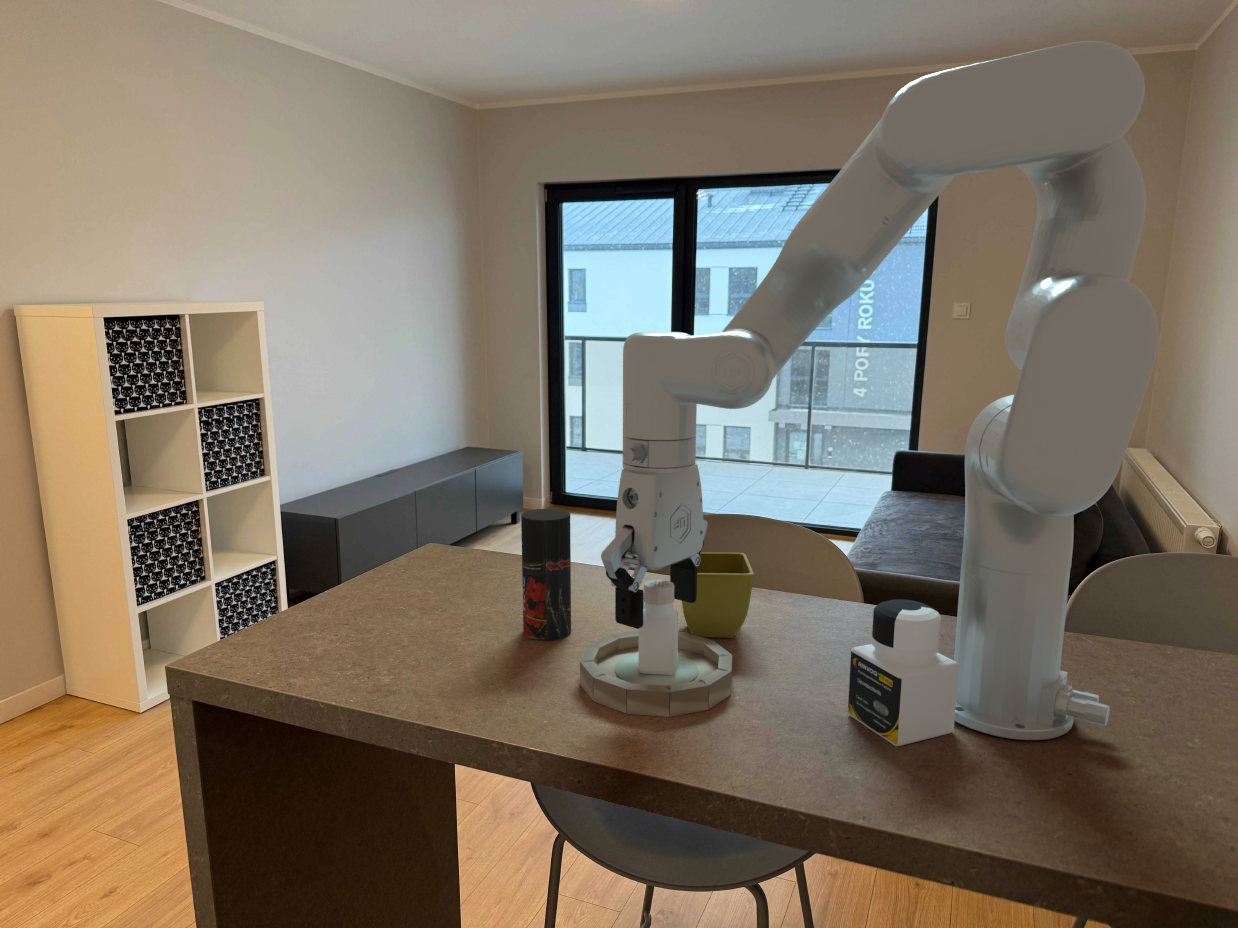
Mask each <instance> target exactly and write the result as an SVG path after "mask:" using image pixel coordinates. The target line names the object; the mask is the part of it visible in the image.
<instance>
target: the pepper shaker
mask: <svg viewBox="0 0 1238 928" xmlns="http://www.w3.org/2000/svg"><path fill="white" fill-rule="evenodd" d="M643 593H644V608H643V627H641V628H639V629H638V631H639V660H638V668H639V670H640V672H641V673H644V674H662V675H672V674H674V673H675V671H676V667H677V660H678V632H679V611H678V610H675V609H674V603H675V599H674V584H673V582H670V580H667V579H666V580H665V579H651V580H647V581H645V582H644V584H643Z"/></svg>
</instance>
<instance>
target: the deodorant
mask: <svg viewBox="0 0 1238 928" xmlns="http://www.w3.org/2000/svg"><path fill="white" fill-rule="evenodd" d="M520 516H521V519H520V521H521V524H520V525H521V527H520V529H521V569H522V570H521V574H522V577H521V578H522V580H521V582H522V626H523V627H522V631H523V632H522V633H523V635H524V636H525V637H526V638H528V639H531V640H536V641H544V642H545V641H547V642H548V641H558V640H561V639H563V638H566V637H568V636H569V635H571V633H572V577H571V575H572V571H571V570H572V568H571V567H572V566H571V565H572V564H571V563H572V562H571V561H572V559H571V556H572V555H571V552H572V551H571V513H570V512H569V511H567V510H564V509H557V508H539V509H538V508H536V509H531V510H527V511H524V512H522V513H521V514H520Z"/></svg>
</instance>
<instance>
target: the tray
mask: <svg viewBox="0 0 1238 928" xmlns="http://www.w3.org/2000/svg"><path fill="white" fill-rule="evenodd" d="M638 660H639V630H633V631H628V632H620V633H613V634H610V635H607V636H606V637H603V638H601V639H599V640H597V641H595V642H592V643H590V644H588V645H587V646H586V648H585V650H584V652H583V654H582V656H581V658H580V660H579V685H580V686H581V688H582V689H583V690H584V691H585V693H586V694H587V695H588V696H589V698H590V699H591V700H592V701H593V702H595V704H596V703H597V704H599V705H603V706H605V707H608V708H610V709H613V710H615V711H618V712H621V713H623V714H627V715H636V716H637V715H638V716H651V717H664V718H665V717H667V718H672V717H677V716H681V715H686V714H693V713H698V712H702V711H708V710H711V708H714V707H715V706H716V705H718V704H720V703H721V702H722V701H724V700H725V699H727V698H728V697H729V696H731V695H732V679H733V678H732V674H733V672H732V671H733V669H732V668H733V654H732V653H730V651H728V650H727V649H725V648H724V647H723V646H722V645H720V644H718V643H717V642H716V641H715V640H713V639H709V638H707V637H699V636H696V635H692V634H691V633H689V632H688V633H687V632H684V631H678V660H677V667H676V671H675V673H674V674H672V675H662V674H644V673H641V672H640V670H639V668H638Z"/></svg>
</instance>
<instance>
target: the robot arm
mask: <svg viewBox="0 0 1238 928" xmlns="http://www.w3.org/2000/svg"><path fill="white" fill-rule="evenodd" d="M1145 92H1146V84H1145V77H1144V73H1143V71H1142V68H1141V67H1140V65H1139V63H1138V61H1137V60H1136V59H1135V57H1134V56H1133V55H1132V54H1131V53H1129V52H1128V51H1127V50H1126V49H1124V48H1123V47H1121V46H1119V45H1117V44H1115V43H1112V42H1106V41H1102V40H1082V41H1081V40H1080V41H1074V42H1068V43H1063V44H1057V45H1054V46H1049V47H1044V48H1041V49H1040V48H1039V49H1035V50H1031V51H1027V52H1023V53H1018V54H1014V55H1010V56H1004V57H1000V58H995V59H992V60H991V59H990V60H987V61H981V62H977V63H971V64H968V65H963V66H958V67H955V68H951V69H949V68H948V69H945V70H941V71H937V72H934V73H931V74H930V73H929V74H927V75H924V76H921V77H919V78H917V79H915V80H913V81H910V82H909V83H907V84H906V85H904V87H902V88H901V89H899V90H898V91H897V93H896V94H895V95H894V96H893V97H892V98H891V100H890V101H889V103H888V104H887V106H886V108H885V110H884V112H883V114H882V117H881V118H880V119H879V121H878V122H877V123H876V125H874V128H873V129H872V130H871V131H870V132H869V134H868V135H867V136H866V138H865V139H864V140H863V141H862V142H861V144H860V145H859V146H858V148H857V149H856V150H855V151H854V153H853V154H852V155H851V157H850V158H849V159H848V160H847V162H846V163H845V164H844V166H842V168H841V169H840V170H839V172H838V173H837V174H836V175H835V177H834V178H833V179H832V180H831V182H830V183H829V184H828V185H827V186H826V188H825V189H824V190H823V192H822V193H821V194H820V195H819V196H818V197H817V198H816V199H815V201H814V202H813V203H812V205H811V206H810V208H809V209H807V210H806V212H805V213H804V214H803V215H802V217H801V218H800V219H799V221H798V222H797V224H796V225H795V227H793V229H792V231H791V232H790V234H789V235H788V237H787V238H786V240H785V242H784V244H783V246H782V248H781V251H780V253H779V254H778V256H777V259H776V260H775V262H774V263H773V265H772V266H771V268H770V270H769V271H768V272H767V274H766V275H765V277H764V278H763V279H762V281H761V282H760V283H759V285H758V286H757V287H756V289H755V290H754V291H753V292H752V294H751V296H750V297H748V298H747V300H746V301H745V303H744V304H743V305H742V306H741V308H740V309H739V310H738V311H737V313H736V314H735V315H734V316H733V318H732V319H731V320H730V321H729V323H727V325H726V326H725V327H724V329H723V330H722V331H721V332H715V333H709V334H701V335H700V334H699V335H691V334H689V333H686V332H682V331H639V332H638V331H637V332H635V333H632V334H630V335H629V336H627V338H626V339H625V340H624V343H623V349H622V468H623V469H621V473H620V479H619V484H618V485H619V486H618V492H617V499H616V501H617V502H616V511H615V512H616V514H615V533H614V534H615V537H614V538H613V540H611V542H609V544H608V545H607V546H606V547H605V548H604V550H602V552H601V555H600V558H601V561H602V564H603V567H604V569H605V575H606V577H607V578H608V579H609V581H610V583H611V584H610V585H611V586H612V587H613V588H614V589H615V590H614V591H615V592H614V593H615V599H614V600H615V601H614V604H615V607H614V610H615V612H614V613H615V615H614V617H615V618H614V620H615V622H616V623H617V624H620V625H623V626H627V627H630V628H633V629H637V630H639V628H641V627H643V609H644V606H645V602H644V589H640V587H641V585H642V583H643V580H644V579H645V575H646V573H647V571H648V570H650V571H660V570H662V569H664V568H667V567H670V568H669V569H670V573H669V575H670V577H669V581H670V582H673V584H674V600H677V601H678V600H679V601H681V602H682V601H685V602H689V603H694V602H695V601H696V600H697V567H695V566H698V565H699V564H700V556H699V554H700V552H702V551H703V548H704V546H705V540H704V539H705V536H706V532H707V530H708V529H707V528H708V521H707V520H706V519H704V510H703V508H704V507H703V505H704V504H703V492H702V491H703V490H702V483H701V482H702V481H701V476H700V470H699V466H698V463H696V461H697V460H696V456H697V451H696V450H697V408H698V407H697V405H702V406H708V407H712V408H713V407H714V408H721V409H727V410H740V409H744V408H748V407H751V406H752V405H754V404H756V403H757V402H759V401H761V400H762V398H763V397H765V395H766V394H767V393H768V391H770V387H771V385H772V383H773V380H774V379H775V377H776V376H777V375H778V374H779V372H781V370H782V369H783V368H784V367H785V365H786V364H787V363H788V362H789V361H790V359H791V358H793V356H794V355H795V354H796V352H797V351H798V349H799V348H800V347H801V346H802V345H803V344H804V343H805V341H806V340H807V339H808V338H809V337H810V336H811V335H812V334H813V332H814V331H815V330H816V329H817V328H818V327H819V326H820V324H821V323H822V322H823V321H825V319H826V318H827V317H828V316H829V315H830V314H831V313H832V312H833V311H835V309H836V308H838V307H839V306H840V305H841V304H842V303H844V302H845V301H846V300H848V299H849V298H850V297H852V296H853V295H854V294H855V293H856V292H857V291H858V290H859V289H860V288H861V286H862V285H864V284H865V282H866V281H867V280H868V279H869V278H870V277H871V276H872V275H873V273H875V271H876V270H877V269H878V268H879V266H880V265H881V264H882V263H883V261H885V259H886V258H887V257H888V256H889V255H890V253H891V252H892V251H893V250H894V248H895V247H896V246H897V245H898V243H899V242H900V241H901V240H902V239H903V237H905V235H906V234H907V233H908V232H909V231H910V229H912V227H914V225H915V224H916V222H918V220H919V219H920V218H921V216H922V215H923V214H924V213H925V212H926V211H927V210H928V208H929V207H930V206H931V205H932V204H933V203H934V201H935V200H936V199H937V198H938V196H939V195H940V194H941V193H942V192H943V191H944V190H945V188H946V187H947V186H948V185H949V184H950V183H951V181H953V179H954V178H955V177H957V176H964V175H969V174H975V173H976V174H977V173H983V172H990V171H995V170H1003V169H1007V168H1012V167H1017V168H1018V169H1019V170H1020V171H1021V172H1022V173H1023V174H1024V175H1025V176H1026V178H1027V179H1028V181H1029V182H1030V184H1031V187H1032V188H1033V191H1034V193H1035V198H1036V202H1037V203H1036V204H1037V206H1036V208H1037V213H1036V219H1035V220H1036V221H1035V225H1034V230H1033V235H1032V240H1031V244H1030V249H1029V252H1028V255H1027V256H1028V257H1027V260H1026V263H1025V266H1024V270H1023V274H1022V277H1021V280H1020V284H1019V287H1018V290H1017V294H1016V297H1015V300H1014V303H1013V306H1012V308H1011V309H1012V310H1011V312H1010V315H1009V318H1008V321H1007V325H1006V329H1005V348H1006V351H1007V354H1008V356H1009V358H1010V360H1011V362H1012V363H1013V365H1015V366H1016V368H1018V369H1019V370H1020V373H1019V374H1020V375H1019V378H1018V381H1017V385H1016V387H1015V392H1014V393H1013V394H1010V395H1006V396H1003V397H1001V398H998V399H996V400H995V401H993V402H991V403H990V404H988V405H987V406H985V408H983V409H982V410H981V411H980V413H978V414H977V416H976V417H975V419H974V420H973V422H972V424H971V426H970V427H969V428H970V429H969V430H968V431H969V432H968V433H967V437H966V443H965V451H964V484H965V487H964V489H965V492H964V493H965V494H964V495H965V496H964V497H965V503H964V504H965V507H964V508H965V509H964V529H963V543H962V554H961V563H960V564H961V565H960V575H959V576H960V580H959V590H958V603H957V618H956V630H955V639H954V641H955V642H954V652H953V653H954V655H953V660H954V661H956V662H957V663H958V664H959V671H958V684H957V696H956V709H955V723H958V724H959V725H962V726H964V727H966V728H969V729H971V730H974V731H976V732H979V733H983V734H985V735H991V736H995V737H998V738H1006V739H1011V740H1020V741H1021V740H1022V741H1041V740H1050V739H1055V738H1059V737H1061V736H1062V735H1063V736H1064V735H1065V734H1067V733H1068V732H1070V730H1072V727H1073V725H1074V718H1077V719H1080V720H1084V722H1087V723H1093V724H1095V725H1099V726H1103V727H1107V725H1108V722H1109V721H1108V720H1109V715H1110V705H1108V704H1104V703H1100V695H1099V694H1094V693H1091V692H1087V691H1079V690H1076V689H1073V686H1072V685H1069V684H1067V682H1068V681H1067V680H1068V671H1064V670H1061V664H1062V663H1061V662H1062V653H1063V645H1064V644H1063V643H1064V635H1065V634H1064V632H1065V623H1066V616H1067V615H1066V613H1067V605H1068V604H1067V603H1068V596H1069V595H1068V594H1069V584H1070V574H1071V568H1072V558H1073V551H1074V532H1075V531H1074V530H1075V529H1074V528H1075V525H1074V522H1075V521H1074V520H1075V519H1074V515H1076V514H1079V513H1080V512H1083V511H1086V510H1087V509H1088V508H1090V507H1092V506H1093V505H1095V503H1097V502H1098V501H1100V499H1102V497H1103V496H1104V495H1105V494H1106V493H1107V491H1108V490H1109V489H1110V487H1111V486H1112V485H1113V482H1114V481H1115V479H1116V477H1117V475H1118V473H1119V471H1120V468H1121V465H1122V463H1123V461H1124V459H1125V455H1126V453H1127V450H1128V448H1129V447H1128V446H1129V443H1130V441H1131V438H1132V435H1133V432H1134V429H1135V425H1136V423H1137V419H1138V416H1139V413H1140V410H1141V406H1142V404H1143V401H1144V397H1145V395H1146V391H1147V388H1148V386H1149V382H1150V379H1151V376H1152V372H1153V369H1154V365H1155V362H1156V357H1157V355H1158V347H1159V323H1158V318H1157V314H1156V311H1155V309H1154V306H1153V305H1152V302H1151V301H1150V299H1149V298H1148V297H1147V295H1146V294H1145V292H1143V291H1142V290H1141V289H1140V288H1139V287H1138V286H1137V285H1136V284H1134V283H1132V282H1130V280H1131V275H1132V272H1133V269H1134V265H1135V261H1136V256H1137V251H1138V248H1139V244H1140V241H1141V236H1142V233H1143V229H1144V223H1145V219H1146V212H1147V192H1146V190H1147V189H1146V183H1145V179H1144V176H1143V173H1142V170H1141V167H1140V164H1139V162H1138V160H1137V157H1136V156H1135V153H1134V152H1133V150H1132V149H1131V147H1130V145H1129V144H1128V142H1127V140H1126V139H1125V136H1124V135H1125V134H1126V133H1127V132H1128V130H1130V128H1131V127H1132V126H1133V124H1134V122H1135V121H1136V119H1137V118H1138V116H1139V114H1140V112H1141V110H1142V107H1143V103H1144V101H1145ZM630 568H634V571H633V573H632V575H631V574H630V573H629V572H628V571H629V569H630Z"/></svg>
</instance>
